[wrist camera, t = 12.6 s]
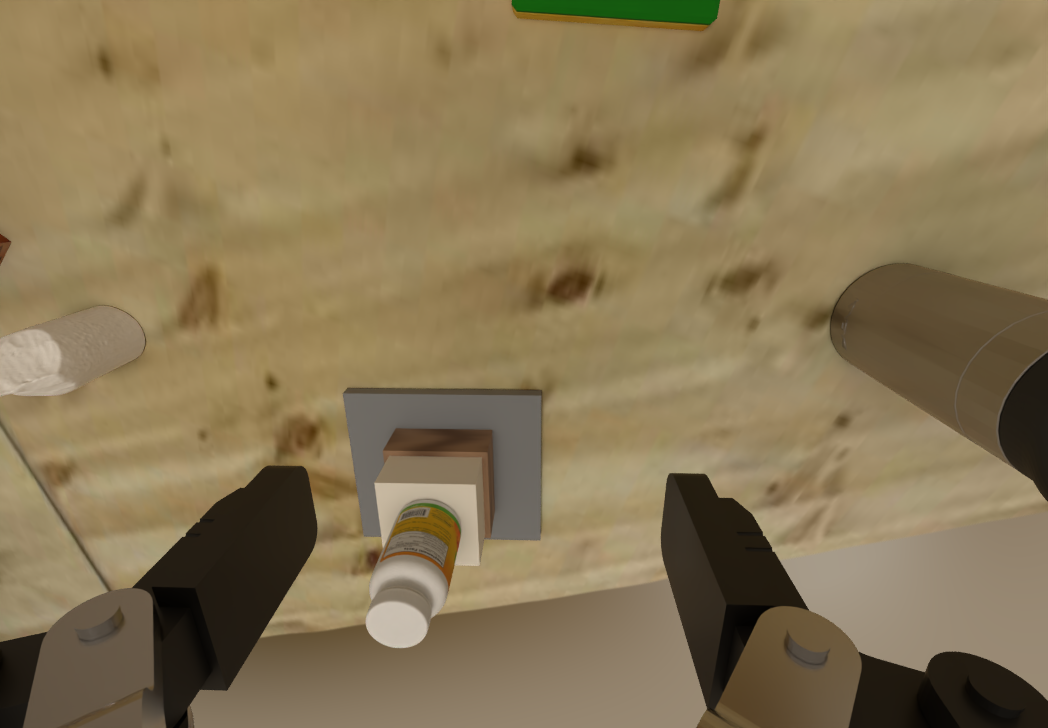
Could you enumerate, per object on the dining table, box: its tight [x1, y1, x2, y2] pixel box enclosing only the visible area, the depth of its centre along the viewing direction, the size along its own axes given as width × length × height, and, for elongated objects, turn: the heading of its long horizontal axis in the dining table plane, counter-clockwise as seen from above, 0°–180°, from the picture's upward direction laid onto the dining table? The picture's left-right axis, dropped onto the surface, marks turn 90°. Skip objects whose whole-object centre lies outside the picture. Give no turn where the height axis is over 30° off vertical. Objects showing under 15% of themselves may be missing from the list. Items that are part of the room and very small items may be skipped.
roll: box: [0, 306, 145, 396], centre depth 41 cm, size 6×12×6 cm
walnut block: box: [383, 428, 495, 538], centre depth 47 cm, size 9×9×4 cm
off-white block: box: [374, 456, 485, 566], centre depth 43 cm, size 8×8×4 cm
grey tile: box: [343, 388, 541, 540], centre depth 49 cm, size 18×16×1 cm
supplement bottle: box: [366, 500, 462, 648], centre depth 37 cm, size 5×5×10 cm
